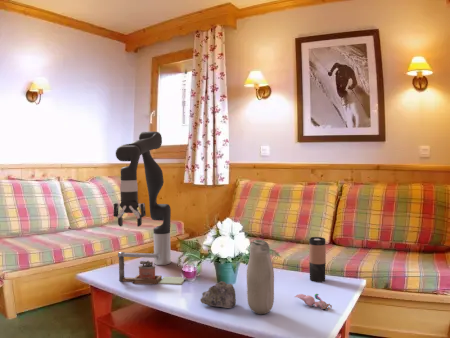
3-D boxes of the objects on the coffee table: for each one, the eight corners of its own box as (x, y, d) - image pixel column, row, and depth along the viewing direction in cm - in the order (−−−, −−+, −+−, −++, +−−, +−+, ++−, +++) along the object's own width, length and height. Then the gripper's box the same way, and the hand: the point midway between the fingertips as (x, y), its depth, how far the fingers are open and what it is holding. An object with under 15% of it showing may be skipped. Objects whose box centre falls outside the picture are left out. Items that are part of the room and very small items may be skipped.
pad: (164, 277, 201) (164, 276, 201) (186, 278, 200) (186, 277, 200) (158, 283, 193) (158, 282, 193) (181, 284, 191) (181, 283, 191)
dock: (122, 278, 202) (122, 255, 201) (161, 279, 199) (161, 256, 198) (116, 282, 195) (115, 259, 195) (156, 284, 192) (156, 260, 191)
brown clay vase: (278, 311, 158) (278, 239, 156) (262, 319, 150) (262, 244, 149) (258, 305, 164) (257, 236, 163) (242, 313, 156) (241, 240, 155)
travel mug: (328, 281, 193) (328, 239, 192) (315, 283, 190) (315, 240, 189) (319, 276, 200) (319, 236, 199) (306, 278, 197) (306, 237, 197)
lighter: (156, 280, 197) (156, 260, 197) (154, 282, 194) (154, 262, 194) (140, 280, 198) (139, 259, 198) (138, 282, 195) (137, 261, 194)
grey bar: (119, 257, 200) (119, 251, 200) (159, 258, 196) (159, 253, 196) (116, 258, 196) (116, 253, 196) (157, 260, 193) (157, 254, 193)
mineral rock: (198, 305, 165) (198, 281, 165) (216, 298, 173) (216, 274, 173) (222, 313, 157) (222, 287, 156) (240, 305, 165) (240, 280, 164)
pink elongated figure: (332, 310, 161) (297, 297, 169) (334, 296, 160) (299, 284, 168) (326, 316, 156) (291, 302, 164) (329, 301, 155) (293, 288, 163)
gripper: (147, 189, 185) (147, 225, 185) (117, 189, 187) (118, 224, 188) (141, 191, 177) (142, 228, 178) (110, 191, 179) (111, 227, 180)
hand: (129, 226), depth 183 cm, fingers open, 8 cm apart
